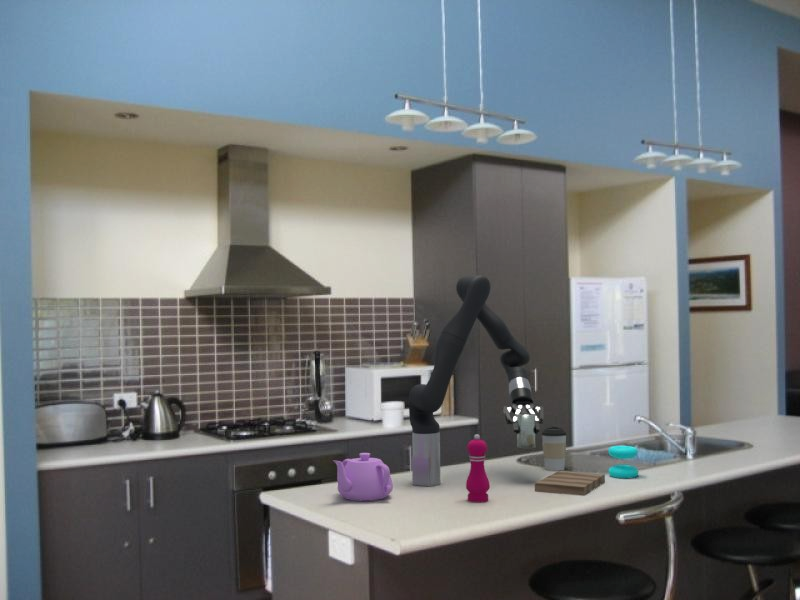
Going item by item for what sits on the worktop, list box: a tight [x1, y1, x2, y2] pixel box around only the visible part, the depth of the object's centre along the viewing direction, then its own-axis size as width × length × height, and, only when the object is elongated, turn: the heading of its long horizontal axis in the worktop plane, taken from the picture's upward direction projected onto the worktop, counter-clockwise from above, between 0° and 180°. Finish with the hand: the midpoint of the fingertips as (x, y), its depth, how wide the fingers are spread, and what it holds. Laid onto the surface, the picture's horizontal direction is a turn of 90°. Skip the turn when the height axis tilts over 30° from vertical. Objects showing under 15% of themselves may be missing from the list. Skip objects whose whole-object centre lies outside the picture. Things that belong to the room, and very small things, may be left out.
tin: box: [516, 413, 536, 449], centre depth 288 cm, size 6×6×11 cm
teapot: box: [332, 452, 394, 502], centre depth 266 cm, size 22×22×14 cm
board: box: [534, 470, 606, 496], centre depth 280 cm, size 24×16×2 cm, turn 152°
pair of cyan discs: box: [607, 445, 639, 479], centre depth 297 cm, size 10×10×10 cm
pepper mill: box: [465, 433, 491, 503], centre depth 262 cm, size 7×7×20 cm
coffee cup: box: [541, 426, 568, 472], centre depth 313 cm, size 9×9×15 cm
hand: (527, 432), depth 286 cm, fingers closed on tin, 6 cm apart
